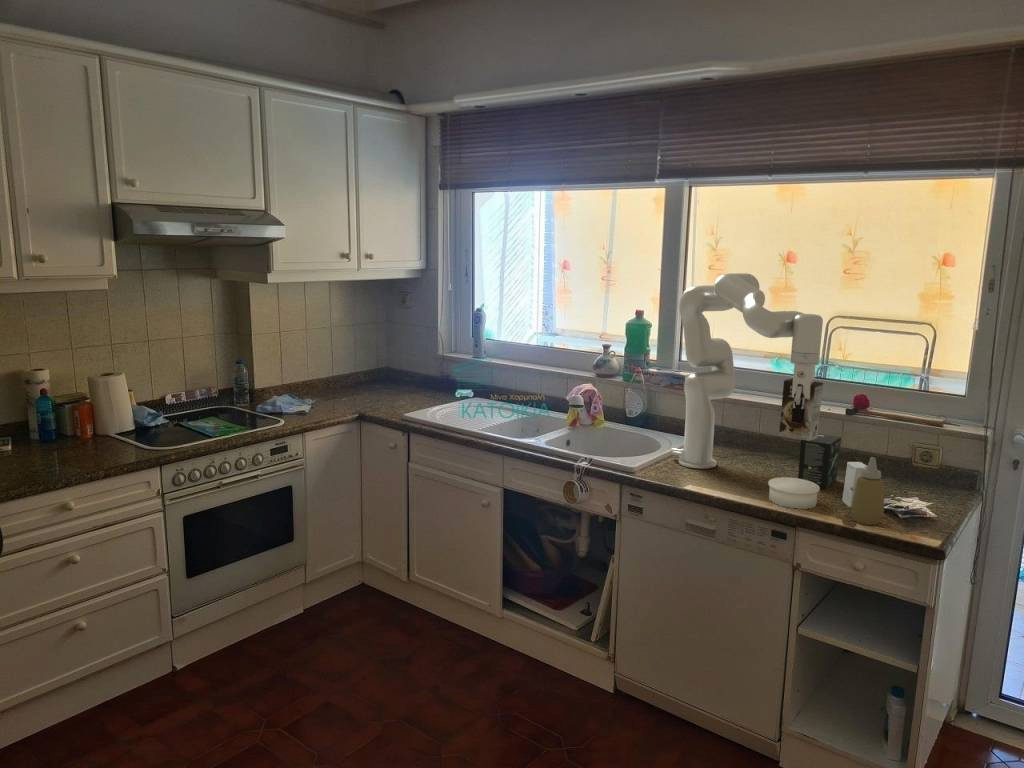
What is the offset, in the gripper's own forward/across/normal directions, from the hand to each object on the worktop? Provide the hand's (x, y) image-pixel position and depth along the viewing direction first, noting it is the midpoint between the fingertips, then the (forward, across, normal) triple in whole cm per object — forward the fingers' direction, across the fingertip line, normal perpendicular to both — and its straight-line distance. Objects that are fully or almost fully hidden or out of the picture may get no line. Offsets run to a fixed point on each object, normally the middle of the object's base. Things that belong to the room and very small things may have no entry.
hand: (799, 419), depth 213 cm
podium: (+25, 0, 0) cm, 25 cm away
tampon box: (+25, +23, -4) cm, 34 cm away
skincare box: (+25, +6, -16) cm, 30 cm away
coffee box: (+5, 0, 0) cm, 5 cm away
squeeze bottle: (+25, -7, -20) cm, 33 cm away
